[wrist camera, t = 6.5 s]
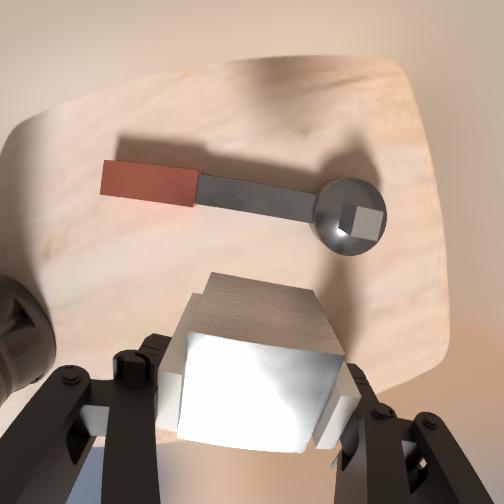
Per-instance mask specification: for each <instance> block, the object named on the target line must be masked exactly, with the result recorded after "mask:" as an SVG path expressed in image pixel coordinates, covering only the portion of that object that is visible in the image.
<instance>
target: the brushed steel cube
mask: <svg viewBox="0 0 504 504" xmlns="http://www.w3.org/2000/svg"><path fill="white" fill-rule="evenodd" d="M345 356H346V355H345V353H344V351H343V349H342V347H341V345H340V343H339V341H338V339H337V337H336V335H335V333H334V331H333V329H332V327H331V325H330V323H329V321H328V319H327V317H326V315H325V313H324V311H323V309H322V307H321V305H320V303H319V302H318V300H317V298H316V296H315V294H314V292H313V290H309V289H303V288H297V287H291V286H286V285H280V284H274V283H269V282H263V281H258V280H252V279H247V278H241V277H236V276H231V275H225V274H220V273H215V272H211V274H210V277H209V279H208V282H207V284H206V287H205V290H204V292H203V295H202V297H201V300H200V302H199V305H198V308H197V310H196V313H195V315H194V318H193V321H192V323H191V326H190V328H189V331H188V339H187V347H186V356H185V361H186V370H185V379H184V389H183V398H182V409H181V419H180V423H179V427H178V437H180V438H184V439H189V440H194V441H200V442H205V443H211V444H217V445H223V446H230V447H238V448H246V449H255V450H265V451H278V452H294V453H303V452H304V450H305V447H306V445H307V443H308V441H309V439H310V437H311V435H312V433H313V431H314V429H315V427H316V425H317V423H318V420H319V418H320V416H321V414H322V412H323V409H324V407H325V405H326V402H327V400H328V398H329V395H330V393H331V391H332V388H333V386H334V384H335V381H336V379H337V376H338V374H339V371H340V369H341V366H342V364H343V361H344V358H345Z"/></svg>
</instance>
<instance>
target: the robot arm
mask: <svg viewBox="0 0 504 504" xmlns="http://www.w3.org/2000/svg"><path fill="white" fill-rule="evenodd" d="M202 295H203V294H198V293H192V296H191V298H190V300H189V302H188V304H187V306H186V308H185V311H184V313H183V315H182V317H181V319H180V321H179V324H178V326H177V328H176V330H175V332H174V335H173V337H168V336H163V335H159V334H155V333H153V334H152V335H150V336H148V337H147V338H145V340H144V341H143V343H142V345H141V346H140V348H139V350H124V351H120V352H119V353H117V354H115V356H114V358H113V376H114V379H113V380H94V379H90V376H89V373H88V372H87V371H86V370H85V369H83V368H81V367H79V366H74V365H65V366H62V367H59V368H57V369H56V370H55V371H54V372H53V373H52V374H51V375H50V376H49V378H48V379H47V380H46V381H45V382H44V384H43V385H42V386H41V387H40V388H39V390H38V391H37V392H36V393H35V395H34V396H33V397H32V398H31V399H30V401H29V402H28V403H27V404H26V406H25V407H24V408H23V410H22V411H21V412H20V413H19V415H18V416H17V417H16V418H15V420H14V421H13V422H12V424H11V425H10V426H9V428H8V429H7V430H6V432H5V433H4V434H3V436H2V437H1V438H0V504H66V502H67V499H68V497H69V495H70V493H71V490H72V488H73V486H74V483H75V481H76V479H77V477H78V475H79V473H80V470H81V468H82V466H83V464H84V462H85V460H86V458H87V456H88V454H89V451H90V449H91V447H92V445H93V443H94V441H95V439H96V437H97V436H104V437H106V439H105V449H104V460H103V473H102V490H101V504H160V493H159V482H158V470H157V456H156V438H155V422H156V428H160V429H165V430H169V431H173V432H177V430H178V426H179V423H180V419H181V409H182V398H183V389H184V379H185V370H186V361H185V356H186V347H187V339H188V331H189V328H190V326H191V323H192V321H193V318H194V315H195V313H196V310H197V308H198V305H199V302H200V300H201V297H202ZM55 356H56V346H55V340H54V336H53V332H52V329H51V326H50V324H49V322H48V319H47V317H46V315H45V314H44V312H43V310H42V308H41V307H40V305H39V304H38V303H37V301H36V300H35V299H34V297H33V296H32V295H31V294H30V293H29V292H28V291H27V290H26V289H25V288H24V287H23V286H22V285H20V284H19V283H18V282H16V281H15V280H13V279H11V278H8V277H5V276H0V407H1V405H2V404H3V403H4V402H5V400H6V399H7V398H8V397H9V396H10V395H11V394H12V393H13V392H16V391H18V390H20V389H22V388H24V387H26V386H28V385H29V384H33V383H36V382H38V381H40V380H41V379H42V378H43V377H44V376H45V375H46V374H47V373H48V371H49V370H50V369H51V368H52V366H53V364H54V361H55ZM312 436H313V440H314V445H315V449H334V448H335V447H336V445H337V443H338V441H339V440H340V441H341V445H342V448H341V450H340V452H339V453H338V455H337V457H336V458H335V460H334V461H333V463H332V465H331V468H334V466H335V464H337V473H336V486H335V497H334V498H335V499H334V504H494V503H493V501H492V499H491V497H490V496H489V494H488V492H487V490H486V489H485V487H484V485H483V484H482V482H481V480H480V479H479V477H478V475H477V474H476V472H475V470H474V469H473V467H472V466H471V464H470V462H469V461H468V459H467V457H466V456H465V454H464V453H463V451H462V449H461V448H460V446H459V445H458V443H457V442H456V440H455V439H454V437H453V436H452V434H451V432H450V431H449V429H448V428H447V426H446V425H445V423H444V422H443V420H442V419H441V418H440V417H438V416H437V415H435V414H433V413H430V412H421V413H419V414H418V415H417V416H416V417H415V419H414V420H413V421H411V420H406V419H401V418H397V415H396V413H395V411H394V410H393V409H392V408H391V407H389V406H387V405H386V404H383V403H380V402H379V401H378V399H377V397H376V395H375V393H374V392H373V390H372V388H371V386H370V385H369V382H368V380H367V379H366V376H365V374H364V373H363V371H362V370H361V369H360V368H359V367H358V366H357V365H356V364H350V363H345V361H343V364H342V366H341V369H340V371H339V374H338V376H337V379H336V381H335V384H334V386H333V388H332V391H331V393H330V395H329V398H328V400H327V402H326V405H325V407H324V409H323V412H322V414H321V416H320V418H319V420H318V423H317V425H316V427H315V429H314V431H313V433H312ZM423 459H425V461H426V463H427V464H426V465H425V467H424V468H422V466H421V465H420V462H421V461H422V460H423Z"/></svg>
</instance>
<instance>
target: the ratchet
mask: <svg viewBox="0 0 504 504" xmlns="http://www.w3.org/2000/svg"><path fill="white" fill-rule="evenodd" d="M100 195H108V196H116V197H123V198H131V199H138V200H146V201H153V202H160V203H167V204H174V205H180V206H187V207H194V206H196V205H197V204H200V205H207V206H213V207H219V208H226V209H232V210H238V211H244V212H250V213H256V214H262V215H267V216H273V217H279V218H284V219H290V220H295V221H301V222H306V223H309V224H310V227H311V229H312V231H313V233H314V234H315V236H316V237H317V238H318V239H319V240H320V241H321V242H322V243H323V244H325V245H326V246H327V247H328V248H329V249H331V250H332V251H334V252H336V253H338V254H341V255H346V256H354V255H359V254H362V253H364V252H367V251H368V250H370V249H371V248H372V247H374V246H375V245H376V243H377V242H378V241H379V240H380V238H381V237H382V235H383V232H384V230H385V227H386V222H387V210H386V205H385V202H384V200H383V198H382V196H381V194H380V193H379V192H378V190H377V189H376V188H375V187H374V186H372V185H371V184H369V183H367V182H365V181H363V180H359V179H349V178H338V179H333V180H330V181H328V182H326V183H324V184H323V185H322V186H320V187H319V188H318V189H317V191H316V192H315V193H314V194H311V193H306V192H301V191H296V190H291V189H286V188H281V187H275V186H270V185H264V184H259V183H253V182H247V181H241V180H235V179H229V178H222V177H216V176H209V175H203V174H202V171H197V170H190V169H183V168H175V167H167V166H159V165H150V164H141V163H132V162H122V161H111V160H104V165H103V173H102V181H101V189H100Z"/></svg>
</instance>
